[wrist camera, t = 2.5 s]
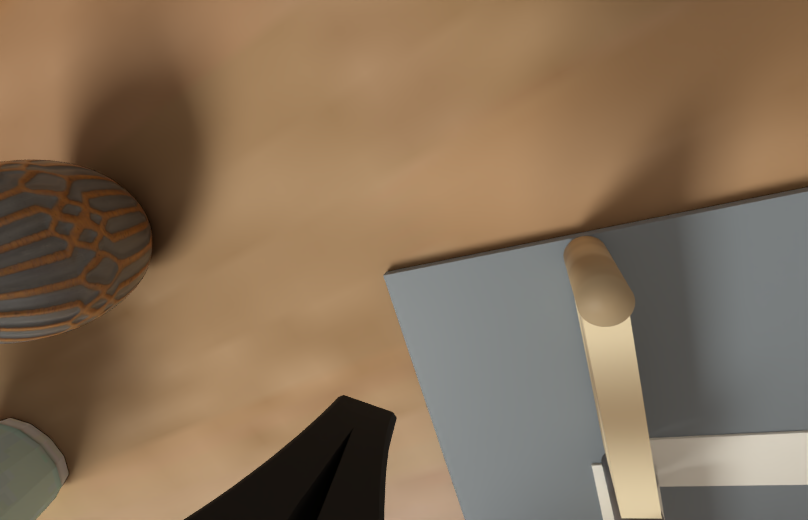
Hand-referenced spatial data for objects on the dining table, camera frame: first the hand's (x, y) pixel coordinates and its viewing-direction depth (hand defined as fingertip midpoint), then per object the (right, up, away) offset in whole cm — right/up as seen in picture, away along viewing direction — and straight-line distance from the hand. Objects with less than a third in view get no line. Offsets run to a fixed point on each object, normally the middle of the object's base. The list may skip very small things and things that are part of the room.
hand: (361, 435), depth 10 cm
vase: (-13, +6, +10) cm, 17 cm away
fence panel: (+8, +1, +6) cm, 10 cm away
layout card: (+12, -3, +7) cm, 14 cm away
